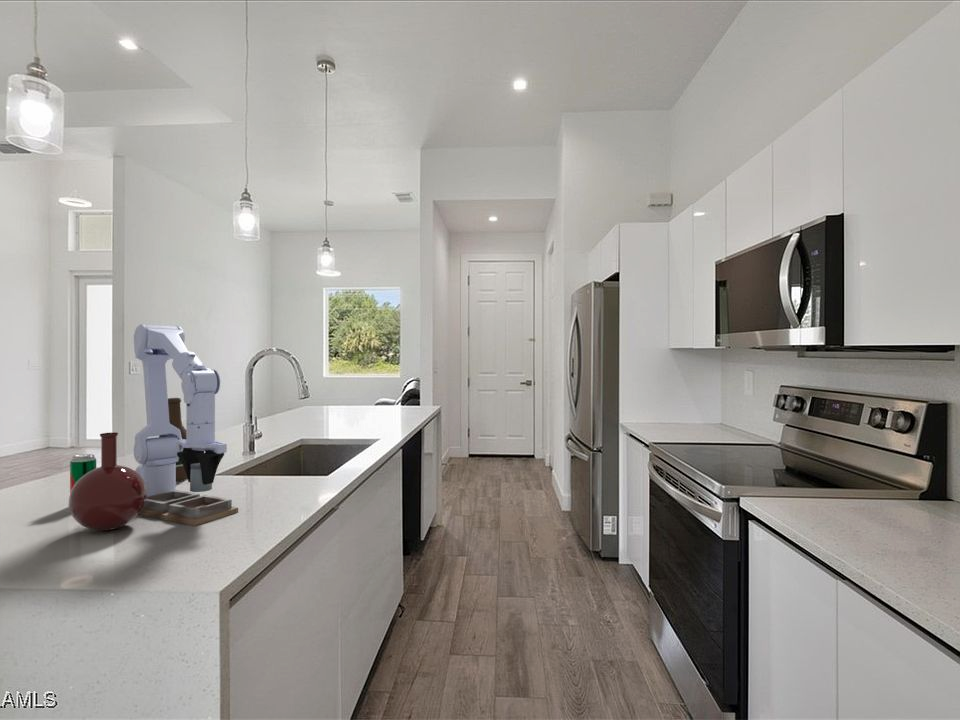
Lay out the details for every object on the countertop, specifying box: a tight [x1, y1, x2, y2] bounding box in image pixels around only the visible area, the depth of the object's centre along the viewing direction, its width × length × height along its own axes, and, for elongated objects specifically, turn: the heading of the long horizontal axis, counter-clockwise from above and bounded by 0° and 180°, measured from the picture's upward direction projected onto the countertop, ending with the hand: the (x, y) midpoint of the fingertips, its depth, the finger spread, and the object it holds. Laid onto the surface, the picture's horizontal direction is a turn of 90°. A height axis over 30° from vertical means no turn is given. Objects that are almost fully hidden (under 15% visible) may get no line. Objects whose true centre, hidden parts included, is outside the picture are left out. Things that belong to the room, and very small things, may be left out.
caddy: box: [138, 489, 239, 527], centre depth 118 cm, size 22×11×3 cm, turn 65°
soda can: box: [69, 453, 97, 494], centre depth 123 cm, size 5×5×12 cm
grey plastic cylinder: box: [189, 462, 213, 493], centre depth 115 cm, size 4×4×6 cm
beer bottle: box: [158, 397, 188, 483], centre depth 148 cm, size 8×8×24 cm
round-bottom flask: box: [68, 432, 147, 532], centre depth 106 cm, size 13×13×20 cm
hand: (200, 482), depth 115 cm, fingers closed on grey plastic cylinder, 4 cm apart
